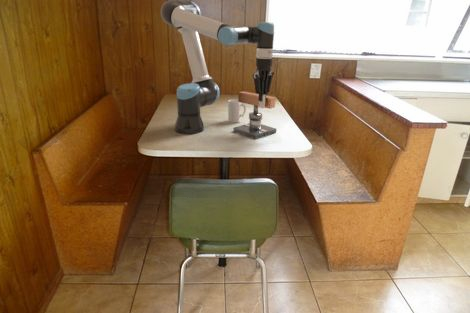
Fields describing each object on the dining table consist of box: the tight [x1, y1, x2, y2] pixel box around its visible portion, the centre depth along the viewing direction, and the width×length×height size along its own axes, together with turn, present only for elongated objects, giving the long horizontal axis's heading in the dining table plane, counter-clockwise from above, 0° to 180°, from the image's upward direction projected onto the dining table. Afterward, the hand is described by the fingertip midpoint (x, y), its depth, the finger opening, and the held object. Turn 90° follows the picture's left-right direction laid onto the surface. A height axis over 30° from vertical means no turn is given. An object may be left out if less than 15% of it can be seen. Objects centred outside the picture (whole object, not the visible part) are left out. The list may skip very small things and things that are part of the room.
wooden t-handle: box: [237, 90, 276, 121], centre depth 174 cm, size 7×20×12 cm, turn 51°
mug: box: [227, 98, 247, 124], centre depth 194 cm, size 10×7×12 cm, turn 87°
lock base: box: [232, 119, 277, 140], centre depth 178 cm, size 16×16×7 cm
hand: (261, 107), depth 167 cm, fingers closed
